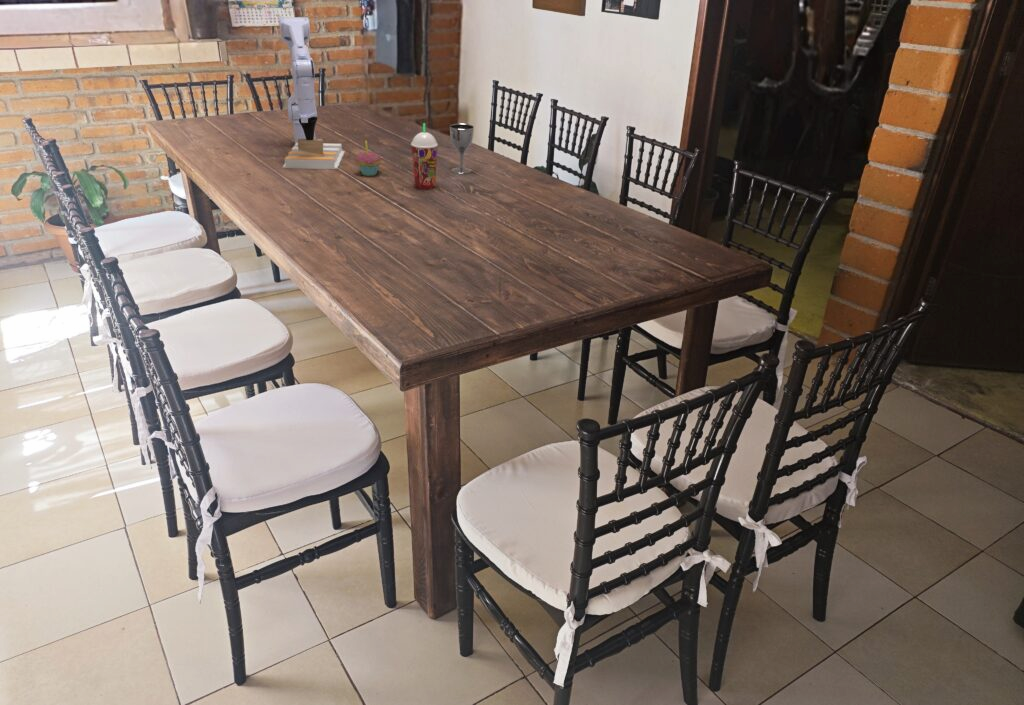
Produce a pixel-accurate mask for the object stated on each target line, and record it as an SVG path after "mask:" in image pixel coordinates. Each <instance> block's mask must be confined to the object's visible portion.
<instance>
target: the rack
mask: <svg viewBox="0 0 1024 705" xmlns="http://www.w3.org/2000/svg"><path fill="white" fill-rule="evenodd" d="M294 145H295V147H293V146H292V148H291V150H290V151H289V152H288V155H285V157H284V164H283V165H282V169H303V170H305V169H306V170H311V169H312V170H338V169H339V167H340V164H341V162H342V160H343V158H344V155H345V153H346V151H345V150H343V146H342V145H343V144H342V143H325V142H323V150H324V157H305V156H299V150H298V143H296V144H295V143H294ZM342 157H343V158H342ZM338 166H339V167H338ZM337 168H338V169H337Z"/></svg>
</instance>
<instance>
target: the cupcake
mask: <svg viewBox="0 0 1024 705" xmlns="http://www.w3.org/2000/svg"><path fill="white" fill-rule="evenodd" d="M364 144H365V146H364V147H365V151H363V152H361V153H359V154H358V155H357V156H356V157H355V163H356V164H357V165H358V167H359V169H360V171H361V174H362V175H363V176H367V177H368V176H369V177H370V176H371V177H372V176H376V175H377V173H378V169H379V167H380V165H381V164H382V157H381V156H380V155H379V154H377V153H375V152H372V151H369V148H368V141H367V140H365V142H364Z"/></svg>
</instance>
